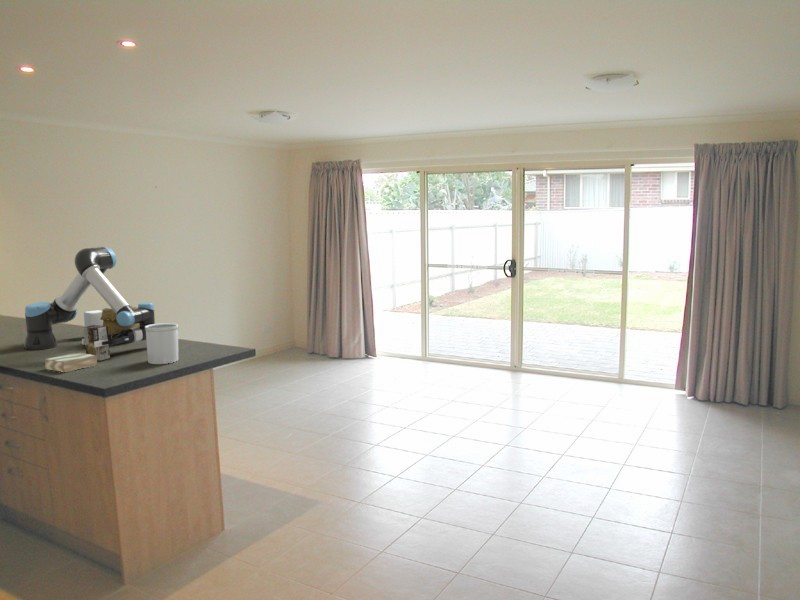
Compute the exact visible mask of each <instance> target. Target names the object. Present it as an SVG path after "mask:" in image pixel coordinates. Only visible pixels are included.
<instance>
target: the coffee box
mask: <svg viewBox="0 0 800 600" xmlns="http://www.w3.org/2000/svg"><path fill="white" fill-rule="evenodd" d="M83 332H84V333H83V334H84V339H85V344H84V345H85V346H84V347H85V354H91V355H95V356H97V361H103V360H107V359H110V358H111V356H110V345H109V344H108V345H105V346H100V347H94V342H95V341H100V340H106V339H108V326H101V325H91V326H88V327H85V326H84V327H83ZM108 341H109V339H108Z"/></svg>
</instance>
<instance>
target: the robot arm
mask: <svg viewBox="0 0 800 600" xmlns="http://www.w3.org/2000/svg"><path fill="white" fill-rule="evenodd" d="M116 264H117V255H116V253H115V252H114V250H113V249H111V248H110V247H105V246H100V247H99V246H98V247H86V248H82V249H80V250H79V251H78V252H77V253H76V254H75V257H74V266H75V269H76V271H77V272H78V273H77V274H76V276H75V277H74V278H73V280H72V281H71V282H70V283H69V285H68V286H67V288H66V289H65V290H64V291H63V293H62V294H61V295H58V296H56V297H55V299H54V300H53V301H52V302H49V301H39V302H33V303H30V304H27V305H26V306H25V308H24V310H25V311H24V315H25V327H26V336H25V339H24V340H25V341H24V342H23V347H24V348H25V349H24V348H23V349H24V350H27V349H28V350H29V351H38V350H48V349H53V348H56V347H57V346H58V341H57V339H56V337H55V335H54V332H53V325H59V324H63V323H64V324H65V323H68V322H71V321H73V320H74V319H75V318H76V316H77V315H78V303H79V301H80V300H81V299H82V297H84V295H85V294H86V292H87V291H88V290H89V289H90V287H93V289H95V290H96V292H97V293H98V294H99V295H100V296H101V297H102V299H103V300H104V301H105V302H106V304H107V305H108V306H109V307H110V309H111V308H112V309H113V311H114V312H115V313H116V314H117V317H116V319H117V322H118V324H119V325H121V326H130V325H133V324H137V323H139V325H140V327H134V328H130V329H123V330H121V332H120V334H119V333H116V334H114V333H112V334H108V339H109V341H108V339H106V340H100V341H95V342H94V347H100V346H105V345H108V344H109V346H111V345H112V346H115V345H119V344H122V343H123V344H125V345H126V344H132V343H136V344H137V343H138V342H143V341H146V330H145V326H147V325H151V324H156V323H155V322H156V321H155V319H156V318H155V308H154V306H155V305H154V303H152V302H140V303H138V306H137V307H138V308H137V309H132V308H131V305H130V304H129V303H128V302H127V301H126V299H125V298H124V297H123V295H122V294H121V293H120V292H119V291H118V290H117V288H116V287H115V286H114V285H113V284H112V282H111V281H110V280H109V279H108V278H107V277H106V275H105V273H106V272H107V270H110V269H113V268H114V267H115V266H116ZM81 345H85V338H82V339H81ZM28 350H27V351H28Z"/></svg>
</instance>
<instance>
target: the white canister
mask: <svg viewBox="0 0 800 600" xmlns="http://www.w3.org/2000/svg"><path fill="white" fill-rule="evenodd" d="M101 316H102V310H99V309H96V310H89V311H83V321H84V327H88V326H91V325H101V326H103V320H101V319H100V318H101Z"/></svg>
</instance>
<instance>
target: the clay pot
mask: <svg viewBox="0 0 800 600" xmlns="http://www.w3.org/2000/svg"><path fill="white" fill-rule="evenodd" d="M130 306H131V305H130ZM131 308H132V309H137V308H138V306H131ZM101 311H102V316H101V318H100V319H101V320H103V326H108V334H112V333H114V334H116V333H119V334H120V332H121V330H123V329H130V328H134V327H140V325H139V323H137V324H133V325H130V326H121V325H119V324H118V322H117V319H116V317H117V314H116V313H115V312H114V311H113V309H112V308H111V307H110V308H108V307H107V308H105V307H104V308H102V310H101Z"/></svg>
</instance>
